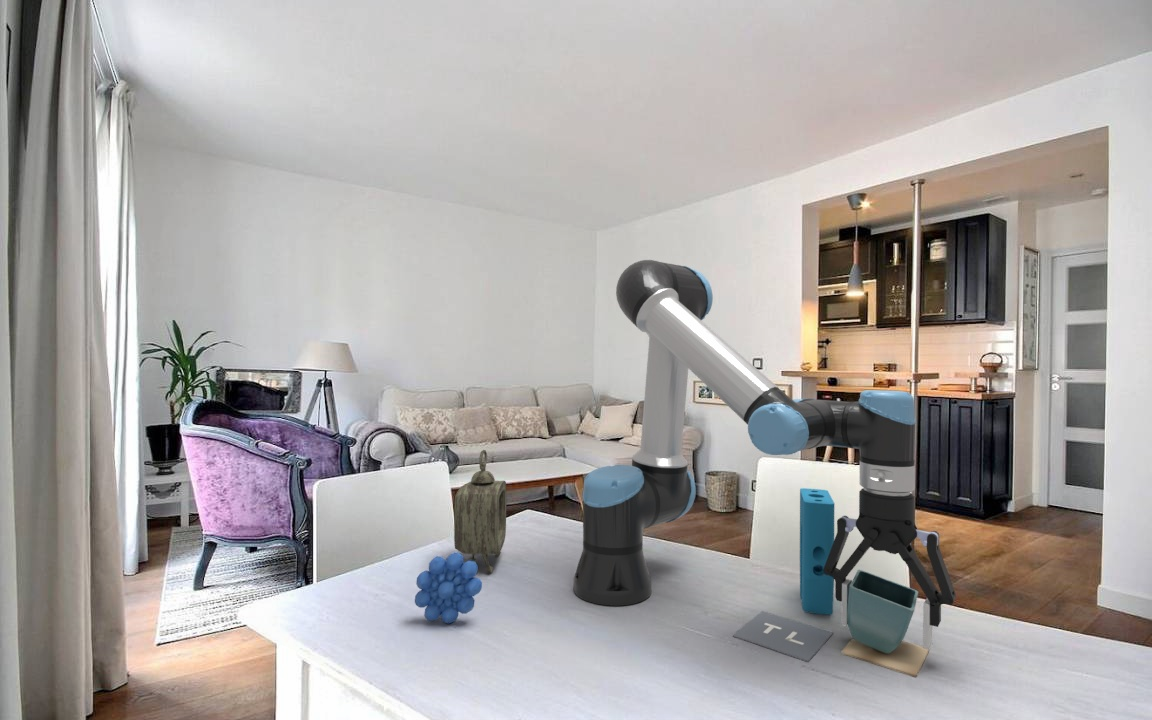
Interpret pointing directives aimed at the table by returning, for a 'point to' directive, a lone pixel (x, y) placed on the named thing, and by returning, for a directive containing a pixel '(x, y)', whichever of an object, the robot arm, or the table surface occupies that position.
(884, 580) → the flower pot
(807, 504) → the block
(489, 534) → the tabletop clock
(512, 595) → the table surface
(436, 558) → the blue ball flower
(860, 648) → the cork mat
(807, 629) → the tile
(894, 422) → the robot arm
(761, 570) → the table surface
